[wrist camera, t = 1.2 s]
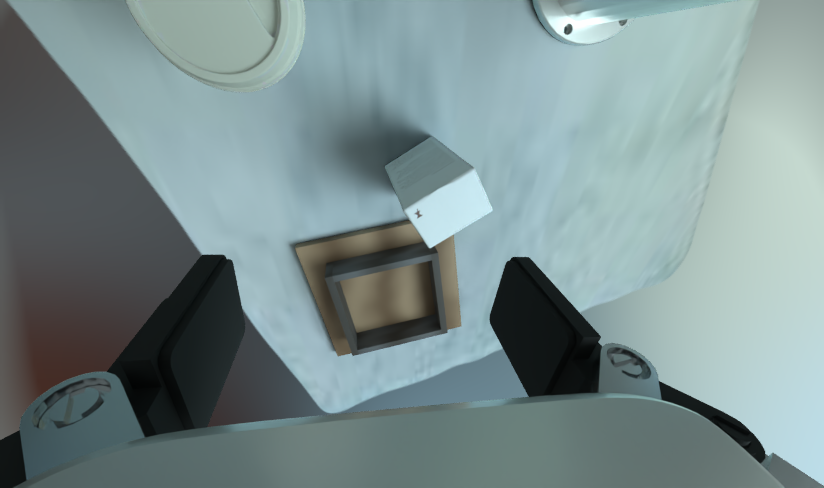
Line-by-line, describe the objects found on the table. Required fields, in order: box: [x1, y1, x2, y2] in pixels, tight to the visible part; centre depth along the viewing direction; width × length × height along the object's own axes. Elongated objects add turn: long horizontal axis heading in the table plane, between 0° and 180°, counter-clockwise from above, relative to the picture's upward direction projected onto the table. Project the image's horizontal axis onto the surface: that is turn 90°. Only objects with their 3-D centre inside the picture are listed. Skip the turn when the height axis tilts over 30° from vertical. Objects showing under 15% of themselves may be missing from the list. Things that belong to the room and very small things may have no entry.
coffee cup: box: [125, 0, 305, 92], centre depth 20 cm, size 8×8×12 cm
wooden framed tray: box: [295, 220, 461, 356], centre depth 39 cm, size 18×18×4 cm
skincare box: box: [385, 136, 493, 248], centre depth 28 cm, size 6×4×12 cm
